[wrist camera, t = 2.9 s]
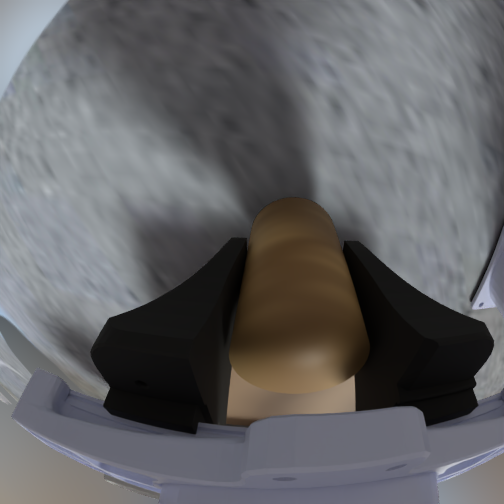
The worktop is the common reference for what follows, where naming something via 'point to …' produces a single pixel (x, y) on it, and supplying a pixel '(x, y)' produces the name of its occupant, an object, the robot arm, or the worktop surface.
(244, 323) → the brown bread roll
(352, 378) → the toolbox lid
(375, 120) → the worktop surface
